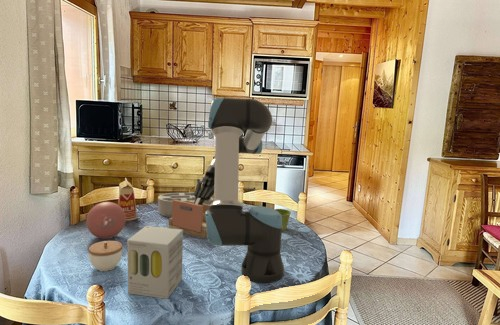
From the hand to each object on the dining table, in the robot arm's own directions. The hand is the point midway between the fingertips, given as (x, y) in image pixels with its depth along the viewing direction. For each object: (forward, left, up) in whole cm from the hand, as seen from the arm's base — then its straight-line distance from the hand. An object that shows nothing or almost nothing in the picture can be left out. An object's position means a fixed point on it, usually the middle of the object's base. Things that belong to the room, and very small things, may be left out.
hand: (194, 211), depth 160 cm
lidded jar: (-47, +3, -9) cm, 48 cm away
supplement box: (-47, -20, -9) cm, 52 cm away
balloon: (-30, +23, -9) cm, 39 cm away
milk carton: (-6, +37, -9) cm, 39 cm away
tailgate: (-6, 0, -7) cm, 9 cm away
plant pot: (+25, -33, -9) cm, 43 cm away
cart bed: (+2, 0, -9) cm, 9 cm away
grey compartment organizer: (+19, +20, -10) cm, 30 cm away
